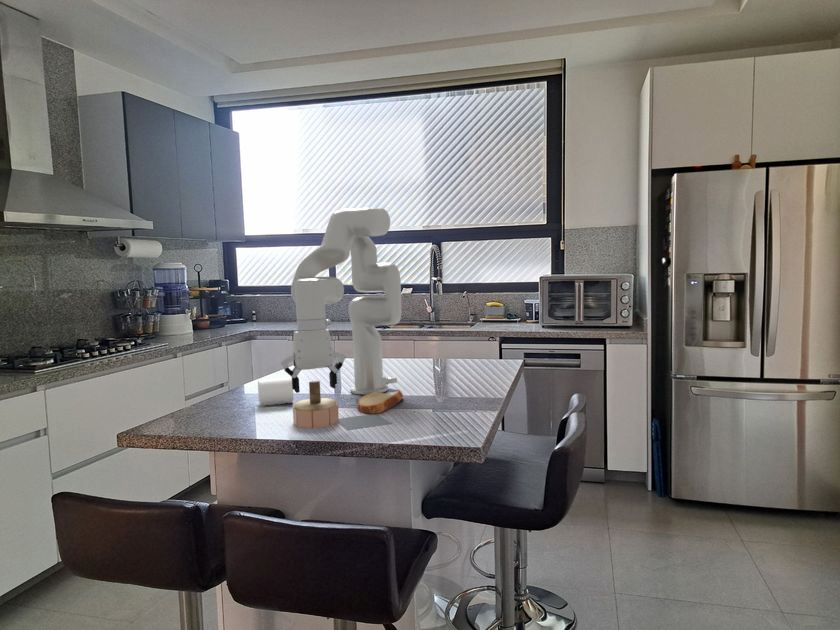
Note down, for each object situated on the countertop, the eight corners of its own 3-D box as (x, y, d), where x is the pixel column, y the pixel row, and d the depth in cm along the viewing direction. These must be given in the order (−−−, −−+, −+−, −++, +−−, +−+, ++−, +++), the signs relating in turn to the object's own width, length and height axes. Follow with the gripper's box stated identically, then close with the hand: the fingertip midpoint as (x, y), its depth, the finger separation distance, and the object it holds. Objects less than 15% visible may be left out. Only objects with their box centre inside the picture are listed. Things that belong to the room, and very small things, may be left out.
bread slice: (368, 415, 159) (368, 401, 159) (341, 405, 175) (340, 393, 174) (423, 405, 169) (423, 392, 169) (393, 397, 184) (392, 385, 184)
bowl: (331, 416, 162) (330, 399, 162) (342, 426, 152) (341, 407, 151) (290, 422, 157) (290, 404, 157) (300, 432, 147) (299, 412, 147)
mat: (376, 415, 161) (376, 413, 161) (392, 425, 151) (392, 423, 150) (334, 421, 157) (334, 419, 157) (347, 432, 146) (347, 430, 146)
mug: (294, 405, 178) (292, 379, 177) (260, 408, 174) (258, 382, 174) (289, 397, 189) (288, 373, 188) (258, 400, 186) (256, 376, 185)
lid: (330, 399, 161) (329, 376, 161) (341, 407, 151) (340, 383, 151) (290, 404, 157) (289, 380, 156) (299, 412, 147) (298, 387, 146)
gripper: (339, 322, 159) (342, 383, 161) (275, 327, 152) (279, 391, 154) (347, 324, 153) (350, 388, 154) (281, 329, 146) (285, 396, 147)
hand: (315, 389), depth 154 cm, fingers open, 9 cm apart
